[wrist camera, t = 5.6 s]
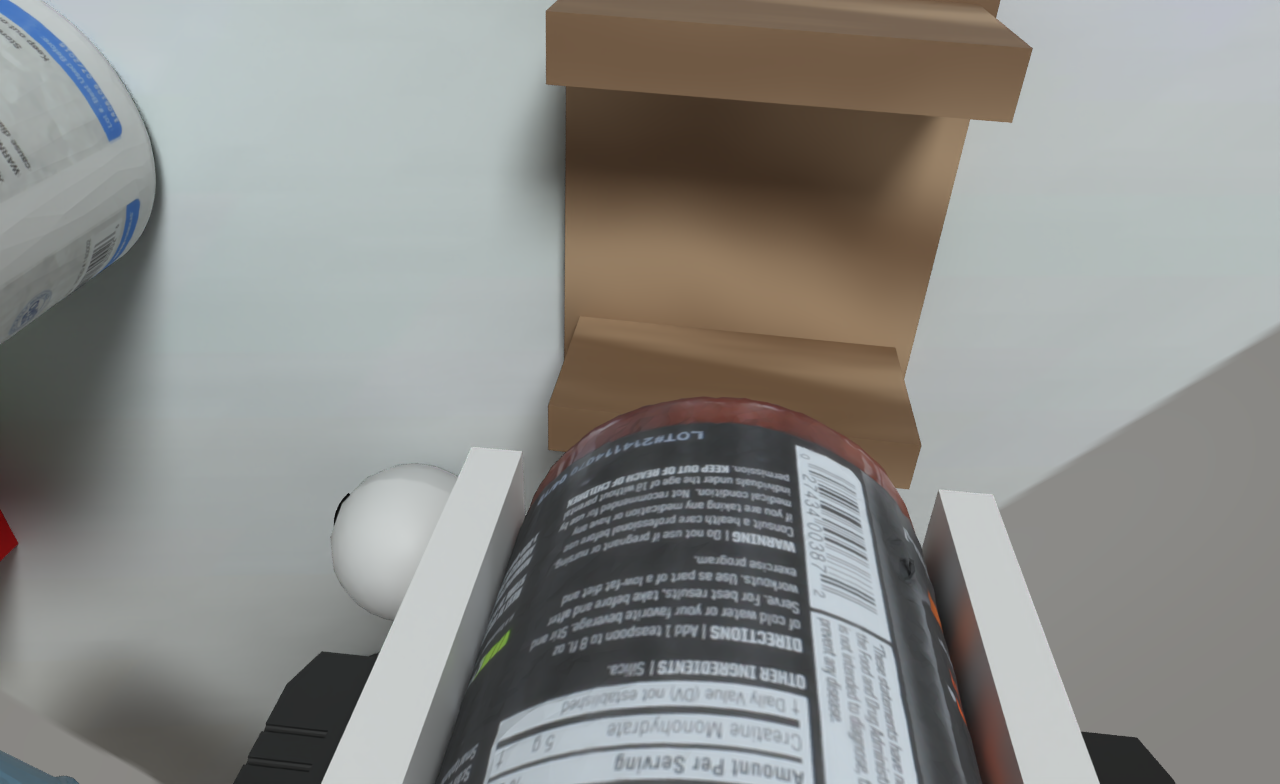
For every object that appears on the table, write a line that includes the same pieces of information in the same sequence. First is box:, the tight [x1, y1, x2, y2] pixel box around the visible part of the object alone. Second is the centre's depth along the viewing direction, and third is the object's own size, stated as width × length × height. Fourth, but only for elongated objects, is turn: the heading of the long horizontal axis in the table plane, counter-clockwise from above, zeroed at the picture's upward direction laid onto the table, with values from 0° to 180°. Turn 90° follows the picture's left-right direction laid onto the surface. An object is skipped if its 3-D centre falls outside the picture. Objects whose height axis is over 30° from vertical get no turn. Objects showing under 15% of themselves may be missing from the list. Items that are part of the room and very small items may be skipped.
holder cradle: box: [546, 0, 1033, 489], centre depth 24 cm, size 12×11×6 cm
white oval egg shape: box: [330, 463, 458, 620], centre depth 32 cm, size 8×6×6 cm
